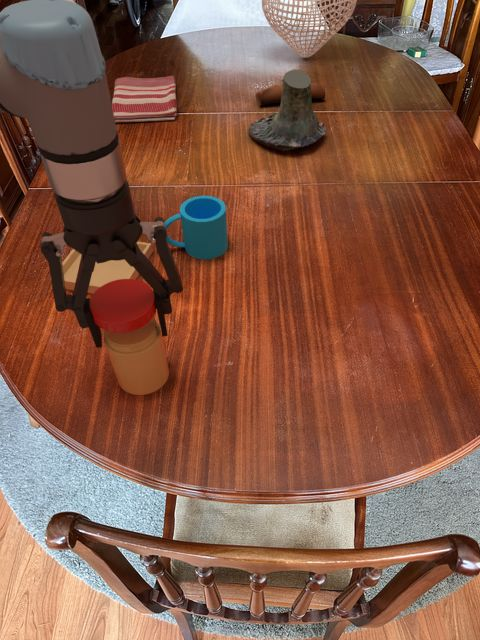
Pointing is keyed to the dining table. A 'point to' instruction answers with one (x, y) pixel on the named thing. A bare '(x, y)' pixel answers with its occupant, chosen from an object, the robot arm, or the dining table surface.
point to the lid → (123, 305)
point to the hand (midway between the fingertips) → (131, 334)
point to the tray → (101, 269)
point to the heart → (275, 26)
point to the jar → (138, 358)
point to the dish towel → (144, 99)
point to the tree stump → (290, 117)
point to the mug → (202, 227)
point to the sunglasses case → (275, 94)
